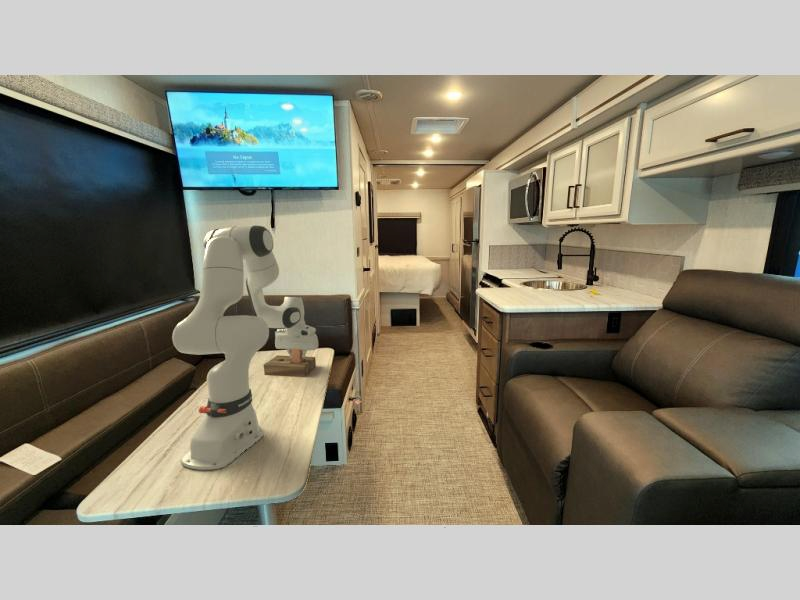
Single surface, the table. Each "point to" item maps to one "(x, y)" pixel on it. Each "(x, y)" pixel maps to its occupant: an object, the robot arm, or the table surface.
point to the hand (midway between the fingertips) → (297, 358)
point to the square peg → (296, 356)
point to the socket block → (289, 366)
